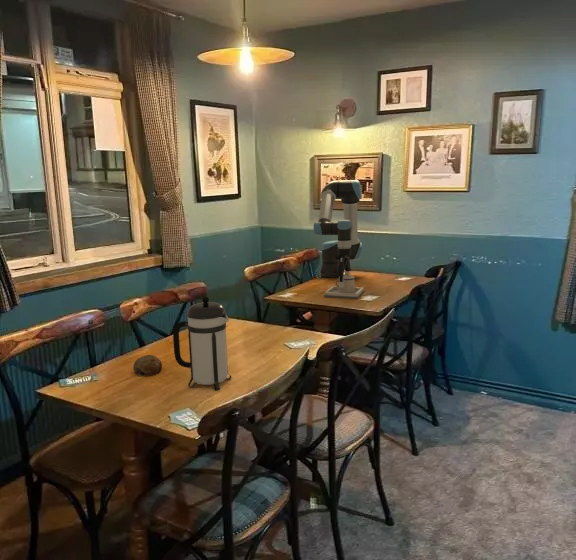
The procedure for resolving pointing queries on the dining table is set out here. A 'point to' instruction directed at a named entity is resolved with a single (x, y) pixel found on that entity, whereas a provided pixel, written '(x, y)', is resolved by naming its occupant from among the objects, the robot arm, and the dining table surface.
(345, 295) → the grey shallow tray
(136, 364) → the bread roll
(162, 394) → the dining table surface
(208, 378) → the coffee press
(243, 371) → the dining table surface
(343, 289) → the teacup with lid
